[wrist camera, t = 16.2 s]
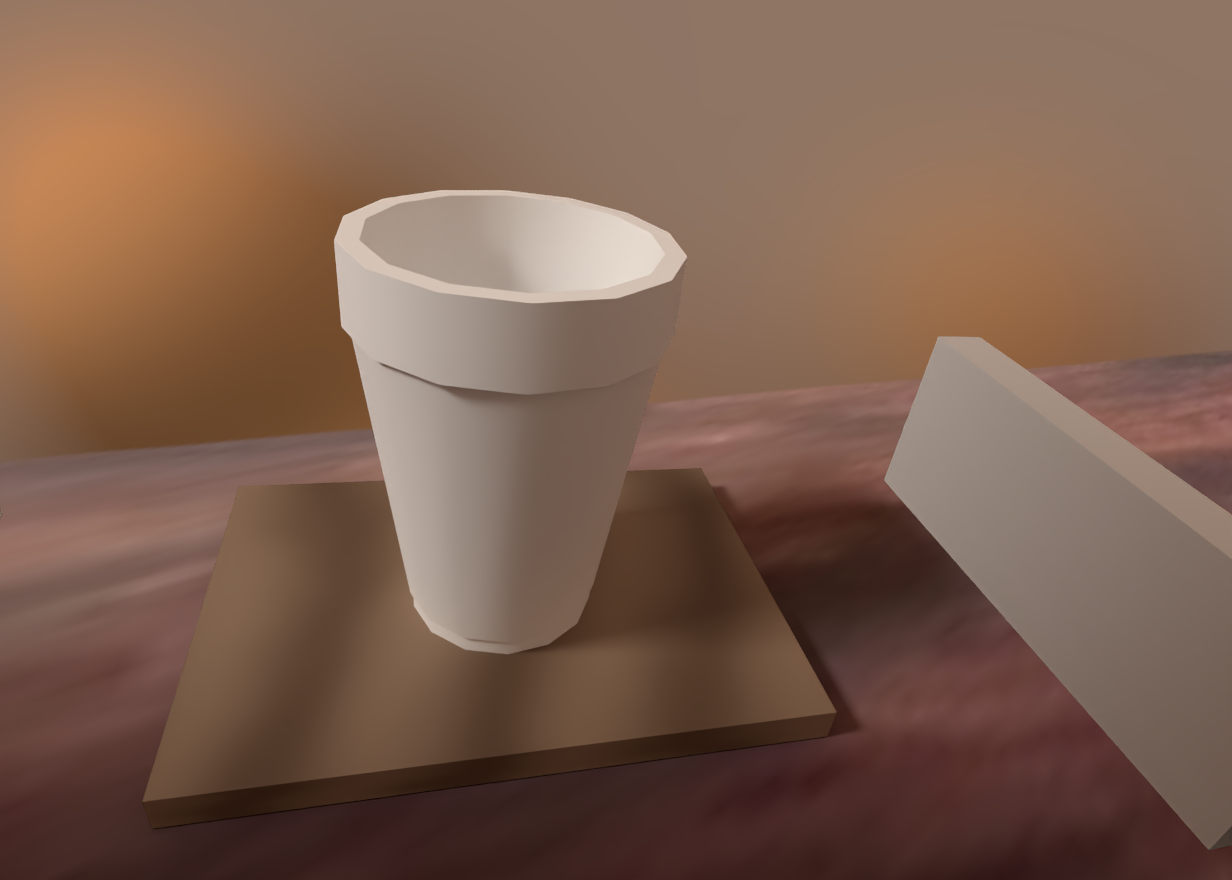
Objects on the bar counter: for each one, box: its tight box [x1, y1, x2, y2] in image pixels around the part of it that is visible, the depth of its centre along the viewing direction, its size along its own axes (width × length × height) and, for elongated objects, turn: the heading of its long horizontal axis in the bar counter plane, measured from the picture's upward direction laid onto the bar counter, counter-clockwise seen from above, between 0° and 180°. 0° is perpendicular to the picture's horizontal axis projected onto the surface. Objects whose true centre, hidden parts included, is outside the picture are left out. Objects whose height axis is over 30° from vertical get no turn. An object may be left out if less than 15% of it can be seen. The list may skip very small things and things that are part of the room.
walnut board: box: [142, 468, 837, 829], centre depth 28 cm, size 20×14×1 cm
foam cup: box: [334, 190, 687, 654], centre depth 24 cm, size 10×9×13 cm
